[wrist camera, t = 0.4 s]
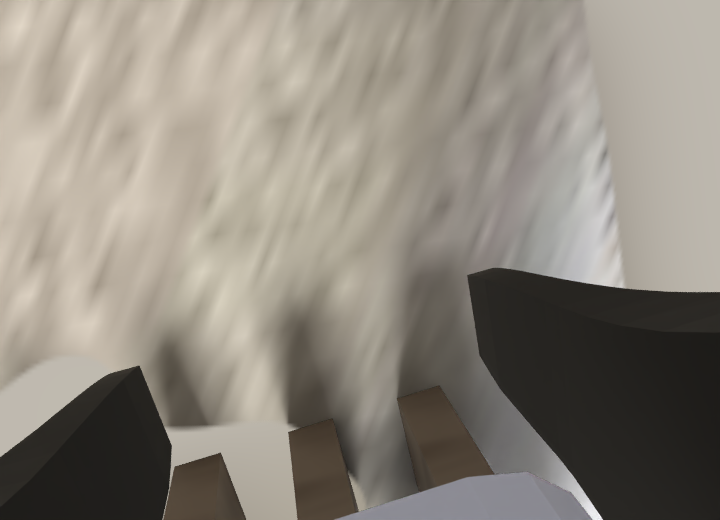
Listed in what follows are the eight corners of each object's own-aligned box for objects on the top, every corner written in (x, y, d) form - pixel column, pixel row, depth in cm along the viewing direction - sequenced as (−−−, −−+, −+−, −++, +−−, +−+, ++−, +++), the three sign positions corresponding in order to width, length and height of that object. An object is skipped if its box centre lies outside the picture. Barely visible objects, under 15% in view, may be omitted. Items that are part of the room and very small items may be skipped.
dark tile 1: (456, 472, 26) (525, 602, 19) (417, 485, 26) (473, 621, 19) (439, 385, 24) (508, 496, 18) (397, 398, 24) (450, 515, 17)
